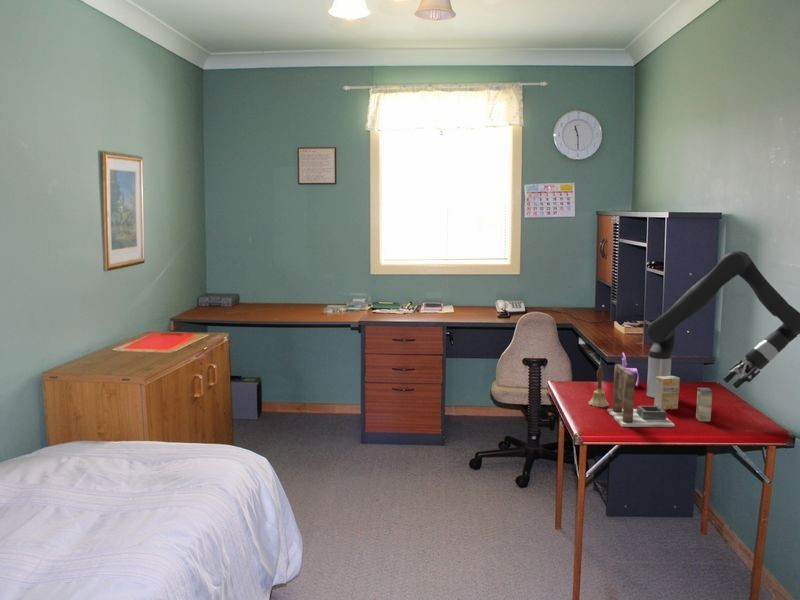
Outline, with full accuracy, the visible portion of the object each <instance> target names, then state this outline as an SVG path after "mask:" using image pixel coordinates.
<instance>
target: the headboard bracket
mask: <svg viewBox="0 0 800 600" xmlns="http://www.w3.org/2000/svg"><path fill="white" fill-rule="evenodd" d="M626 368H627V367H626ZM626 368H625V367H624V366H623V365H622V363H621V364H615V365H614V369H613V371H614V372H613V373H614V374H613V392H612V393H613V394H612V395H613V396H612V408H607V412H608V413H609V414H610V416H611V415H612V416H613V417H612V416H611V417H612V418H613V419H614V420H615V421H616V422H617V423H618V424H619V425H620V427H622V428H623V427H626V428H627V427H628V428H629V427H632V428H638V427H639V428H642V427H643V428H675V423H674V422H672V420H670V419H669V418H668V417H667V412H666V410H663V409H662V408H660V407H659V406H654V405H637V406H636V408H634V401H635V386H636V382H635V381H636V375H635V373H631V372H630V371H628V370H627V369H626Z"/></svg>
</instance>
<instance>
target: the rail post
mask: <svg viewBox="0 0 800 600" xmlns="http://www.w3.org/2000/svg"><path fill="white" fill-rule="evenodd" d="M712 399H713V390H712V389H711V388H709V387H697V393H696V411H695V419H697V420H698V421H699V422H711V418H712V417H711V416H712V401H713V400H712Z"/></svg>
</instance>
